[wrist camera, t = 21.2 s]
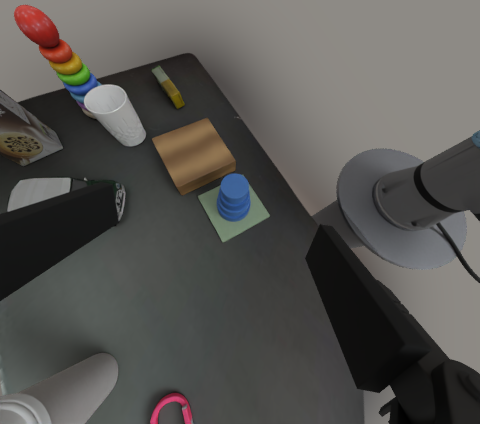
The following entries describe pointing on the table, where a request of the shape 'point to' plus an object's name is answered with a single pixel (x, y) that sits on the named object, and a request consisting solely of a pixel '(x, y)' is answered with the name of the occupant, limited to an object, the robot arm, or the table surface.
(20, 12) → the stacking toy
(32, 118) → the coffee box
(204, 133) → the platform
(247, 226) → the coaster
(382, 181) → the robot arm
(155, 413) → the fitness band
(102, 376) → the coffee cup
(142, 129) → the white cup
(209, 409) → the table surface
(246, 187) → the stacked blue discs
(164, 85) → the medication box
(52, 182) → the miniature car
